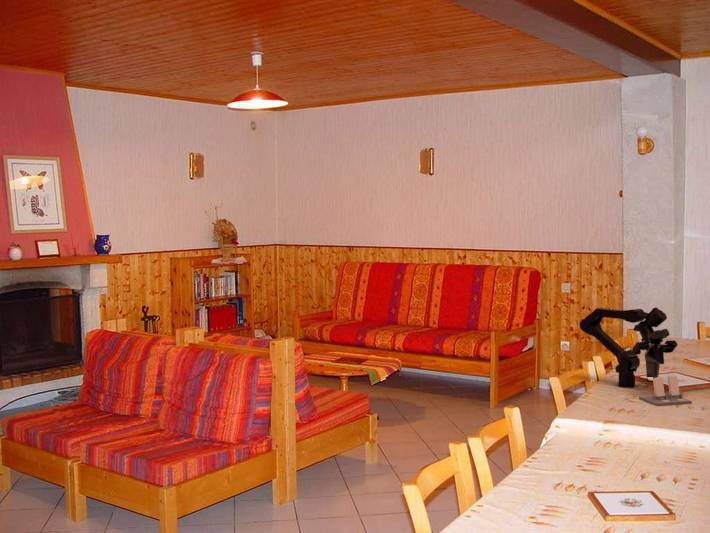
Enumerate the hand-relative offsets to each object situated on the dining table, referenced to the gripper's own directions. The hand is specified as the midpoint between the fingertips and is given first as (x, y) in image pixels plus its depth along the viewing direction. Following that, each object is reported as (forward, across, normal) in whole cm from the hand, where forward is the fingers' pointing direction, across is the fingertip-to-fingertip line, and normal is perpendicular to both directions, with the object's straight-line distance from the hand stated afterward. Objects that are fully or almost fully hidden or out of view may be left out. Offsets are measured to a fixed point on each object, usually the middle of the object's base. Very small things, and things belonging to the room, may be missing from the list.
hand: (662, 363), depth 344 cm
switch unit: (+16, -4, +4) cm, 16 cm away
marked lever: (+14, 0, +2) cm, 14 cm away
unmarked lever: (+14, -7, +2) cm, 16 cm away
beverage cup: (-10, +14, +29) cm, 33 cm away
